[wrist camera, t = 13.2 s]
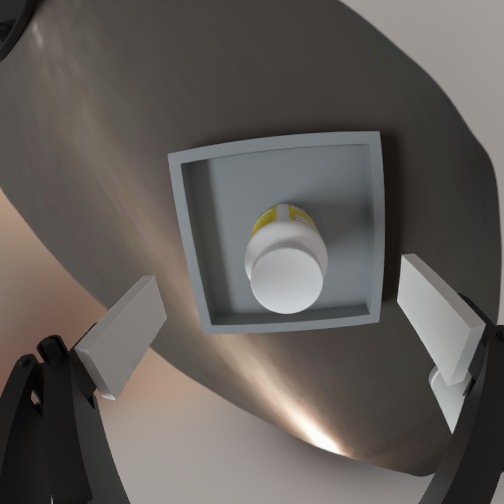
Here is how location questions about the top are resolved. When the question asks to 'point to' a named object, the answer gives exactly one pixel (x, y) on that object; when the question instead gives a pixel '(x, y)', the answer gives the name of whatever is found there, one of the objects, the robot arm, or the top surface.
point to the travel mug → (449, 396)
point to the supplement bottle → (286, 259)
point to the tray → (283, 192)
